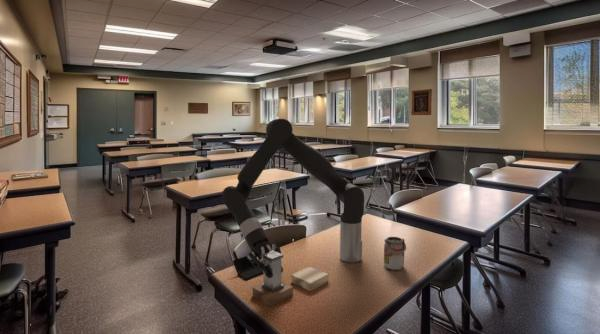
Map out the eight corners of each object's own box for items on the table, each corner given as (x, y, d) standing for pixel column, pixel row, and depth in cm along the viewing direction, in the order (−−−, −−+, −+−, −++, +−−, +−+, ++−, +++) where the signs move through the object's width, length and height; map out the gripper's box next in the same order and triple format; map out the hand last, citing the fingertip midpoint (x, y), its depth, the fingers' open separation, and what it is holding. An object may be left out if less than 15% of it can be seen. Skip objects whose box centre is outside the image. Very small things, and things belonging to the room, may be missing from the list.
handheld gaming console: (249, 278, 127) (240, 253, 131) (238, 285, 131) (230, 261, 134) (270, 271, 136) (261, 249, 140) (259, 278, 140) (251, 256, 144)
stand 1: (252, 295, 117) (252, 287, 117) (274, 285, 124) (274, 277, 124) (271, 306, 110) (271, 297, 110) (293, 294, 118) (292, 286, 117)
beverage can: (408, 272, 134) (409, 243, 133) (387, 272, 134) (388, 244, 132) (400, 262, 144) (400, 235, 142) (380, 263, 143) (381, 236, 141)
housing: (261, 286, 117) (260, 254, 116) (272, 281, 121) (271, 250, 119) (272, 292, 113) (272, 258, 112) (283, 287, 117) (283, 254, 115)
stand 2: (291, 282, 127) (291, 274, 127) (309, 273, 134) (309, 266, 134) (310, 291, 120) (310, 283, 120) (328, 281, 127) (328, 274, 127)
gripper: (241, 232, 115) (264, 276, 108) (273, 223, 125) (296, 263, 118) (233, 243, 119) (255, 286, 112) (264, 233, 129) (286, 273, 122)
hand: (276, 274), depth 115 cm, fingers closed on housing, 4 cm apart
